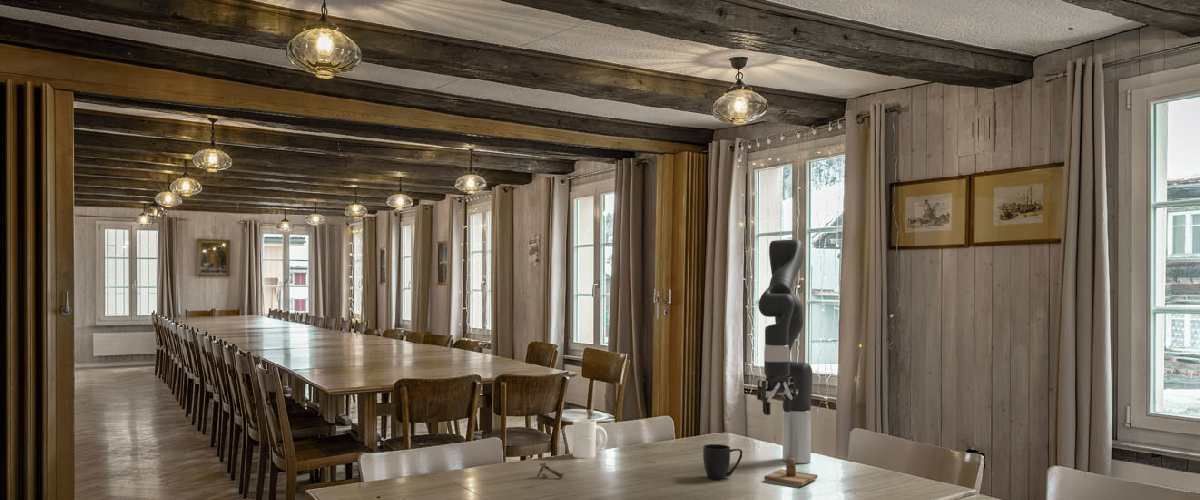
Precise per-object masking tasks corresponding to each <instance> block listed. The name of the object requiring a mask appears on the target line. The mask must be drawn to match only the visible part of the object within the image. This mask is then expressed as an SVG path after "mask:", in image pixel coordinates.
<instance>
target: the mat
mask: <svg viewBox="0 0 1200 500" xmlns="http://www.w3.org/2000/svg"><path fill="white" fill-rule="evenodd" d="M765 483H766V484H767V483H768V484H773V485H779V486H784V487H789V488H796V489H797V488H800V487H802V486H801V485H795V484H789V483H783V482H777V481H771V480H765Z"/></svg>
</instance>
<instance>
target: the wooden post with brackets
mask: <svg viewBox="0 0 1200 500" xmlns="http://www.w3.org/2000/svg"><path fill="white" fill-rule="evenodd" d="M539 465H540V470H539V471H538V472H537V477H540V475H541V476H542V478H545V479H549V478H550V476H549V475H548V474H546V473H543V471H546V470H547V471H548V472H550V473H551V474H553V475H555V476H557V477H558V478H559V480H562V479H563V477H564V475H565V472H562V473H561V472H558V471H556V470H555V469H553V468H552V467H551V466H548V465H547V464H546V462H539Z"/></svg>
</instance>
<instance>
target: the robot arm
mask: <svg viewBox="0 0 1200 500" xmlns="http://www.w3.org/2000/svg"><path fill="white" fill-rule="evenodd" d="M803 245H804V244H803V243H802V242H801V240H800V239H777V240H772V241H770V243H769V245H768V246H769V247H768V256H769V257H768V258H769V265H770V271H771V278H770V282H769V285H768V287H767V288H766V290H764V292H763V293H762V294H761V296H760V298H759V300H758V310H759V312H760V314H761V315H762V316H764V317H771V318H772V317H774V320H775V321H774V322H775V323H773V324H769V325H767V326H765V328H764V351H763V354H764V357H763V358H764V359H763V360H764V361H763V362H764V366H763V367H764V369H763V370H764V371H763V372H764V375H765V377H766V378H765V379H763V380H762V379H758V381H757V393H756V399H757V400H758V401H761V402H762V413H763V414H764V415H767V416H770V415H771V400H772V399H773V398H774V396H775V395H777V394H781V395H782V397H783V402H782V461H783V462H786V458H795V459H796V464H807V463H811V448H812V447H811V445H812V444H811V443H812V442H811V436H812V435H811V433H812V432H811V431H812V429H811V425H812V424H811V423H812V422H811V421H812V420H811V415H812V414H811V408H812V407H811V406H812V395H813V391H812V390H813V369H812V366H811V365H810V363H808V362H802V361H801V362H798V361H791V353H792V348H793V345H794V343H795V341H796V340H797V337H798V336H799V335H800V332H801V331H802V329H803V327H804V315H803V314H804V313H803V305H802V302H801V300H800V299H799V297H798V296H797V295H796V293H795V292H794V291H793V285H794V281H795V279H796V276H798V273H799V271H800V269H801V268H802V265H803V262H804V257H805V256H804V255H805V254H804V253H805V252H804V246H803Z"/></svg>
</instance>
